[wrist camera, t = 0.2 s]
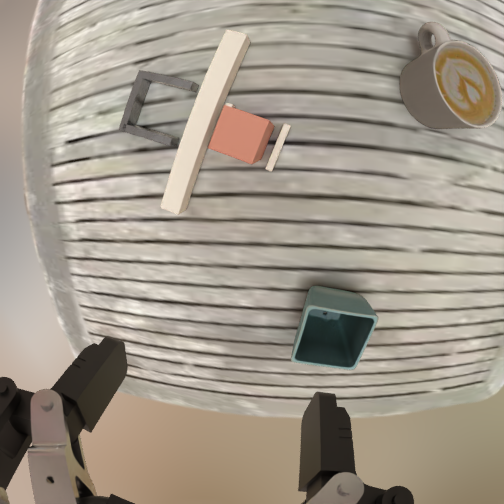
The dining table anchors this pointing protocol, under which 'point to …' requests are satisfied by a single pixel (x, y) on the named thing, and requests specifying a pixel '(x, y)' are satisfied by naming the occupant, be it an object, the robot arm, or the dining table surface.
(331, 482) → the robot arm
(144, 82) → the keeper bracket
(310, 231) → the dining table surface
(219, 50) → the strip
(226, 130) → the block
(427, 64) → the coffee mug
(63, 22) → the dining table surface
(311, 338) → the flower pot
